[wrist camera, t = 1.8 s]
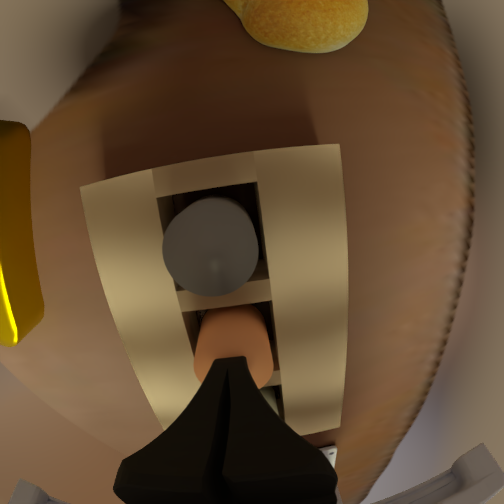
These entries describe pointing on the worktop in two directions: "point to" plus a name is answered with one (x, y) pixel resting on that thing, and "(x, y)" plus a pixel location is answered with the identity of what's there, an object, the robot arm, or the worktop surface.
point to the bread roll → (302, 22)
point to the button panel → (254, 290)
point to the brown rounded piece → (234, 341)
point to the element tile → (17, 238)
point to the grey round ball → (211, 246)
